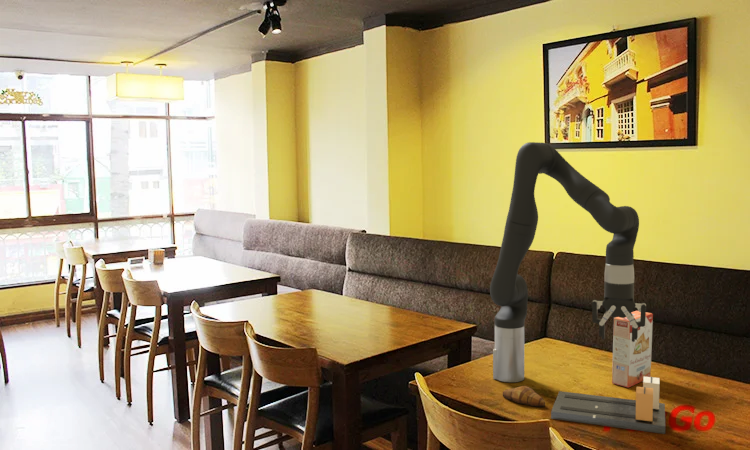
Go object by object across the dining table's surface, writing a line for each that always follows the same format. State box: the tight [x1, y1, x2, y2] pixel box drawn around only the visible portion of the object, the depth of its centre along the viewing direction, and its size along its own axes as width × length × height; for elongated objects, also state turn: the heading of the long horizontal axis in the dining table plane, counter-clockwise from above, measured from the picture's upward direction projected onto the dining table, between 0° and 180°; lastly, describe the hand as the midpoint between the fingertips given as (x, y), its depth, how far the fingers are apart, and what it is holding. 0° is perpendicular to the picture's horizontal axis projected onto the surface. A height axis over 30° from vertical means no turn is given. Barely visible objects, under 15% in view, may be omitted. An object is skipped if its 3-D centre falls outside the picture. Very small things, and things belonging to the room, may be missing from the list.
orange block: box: [635, 386, 653, 421], centre depth 167 cm, size 4×5×7 cm
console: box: [550, 390, 666, 435], centre depth 176 cm, size 28×17×2 cm, turn 67°
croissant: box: [502, 385, 546, 408], centre depth 186 cm, size 14×7×5 cm, turn 47°
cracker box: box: [611, 310, 654, 388], centre depth 200 cm, size 14×6×21 cm, turn 130°
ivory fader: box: [642, 376, 660, 409], centre depth 175 cm, size 4×5×7 cm
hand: (618, 339), depth 177 cm, fingers open, 7 cm apart
